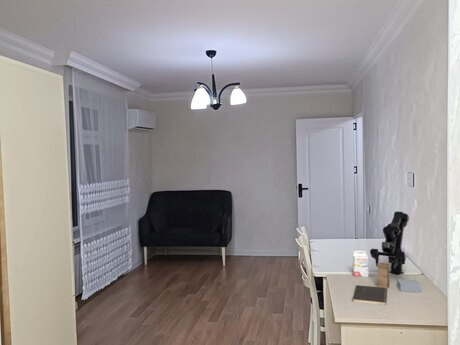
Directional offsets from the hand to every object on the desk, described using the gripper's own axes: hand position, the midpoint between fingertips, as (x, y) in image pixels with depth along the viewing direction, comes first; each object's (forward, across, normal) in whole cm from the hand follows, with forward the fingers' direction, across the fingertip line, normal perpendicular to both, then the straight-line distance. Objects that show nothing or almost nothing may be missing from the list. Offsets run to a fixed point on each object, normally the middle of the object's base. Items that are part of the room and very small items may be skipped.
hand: (385, 267), depth 257 cm
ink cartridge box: (-2, -18, +17) cm, 25 cm away
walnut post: (+10, 0, +5) cm, 11 cm away
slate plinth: (+8, +12, +7) cm, 16 cm away
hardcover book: (+24, -2, -8) cm, 25 cm away
